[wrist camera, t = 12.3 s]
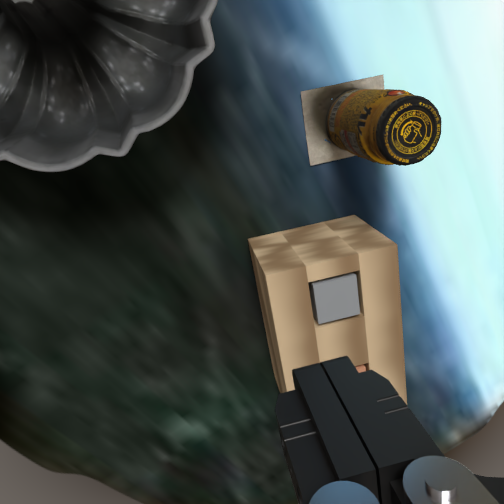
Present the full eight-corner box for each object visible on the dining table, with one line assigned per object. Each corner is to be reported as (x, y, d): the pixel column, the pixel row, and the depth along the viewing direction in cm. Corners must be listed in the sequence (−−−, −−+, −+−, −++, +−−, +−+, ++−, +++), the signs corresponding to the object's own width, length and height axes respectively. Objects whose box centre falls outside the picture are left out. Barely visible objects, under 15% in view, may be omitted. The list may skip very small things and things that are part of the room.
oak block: (274, 375, 54) (294, 435, 45) (247, 238, 47) (265, 275, 38) (367, 351, 55) (407, 405, 46) (354, 214, 48) (397, 244, 39)
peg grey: (296, 287, 48) (318, 324, 41) (291, 254, 47) (313, 285, 39) (331, 279, 48) (360, 314, 41) (327, 245, 47) (356, 275, 39)
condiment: (387, 148, 46) (454, 167, 35) (309, 165, 46) (352, 189, 35) (382, 74, 44) (452, 70, 33) (299, 91, 43) (342, 92, 32)
